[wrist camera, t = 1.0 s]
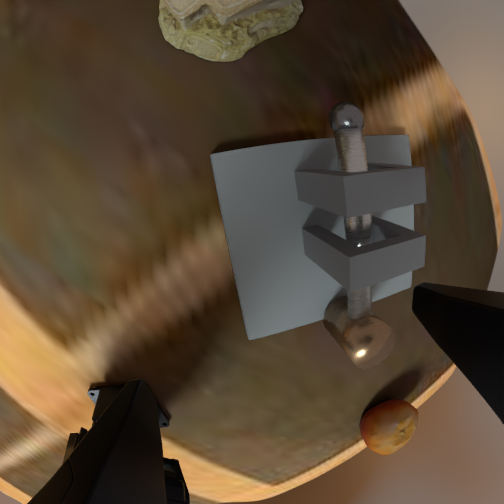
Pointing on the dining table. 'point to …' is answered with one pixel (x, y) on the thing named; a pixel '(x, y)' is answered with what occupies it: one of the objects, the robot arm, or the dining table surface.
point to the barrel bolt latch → (316, 226)
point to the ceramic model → (225, 25)
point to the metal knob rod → (359, 233)
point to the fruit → (389, 426)
